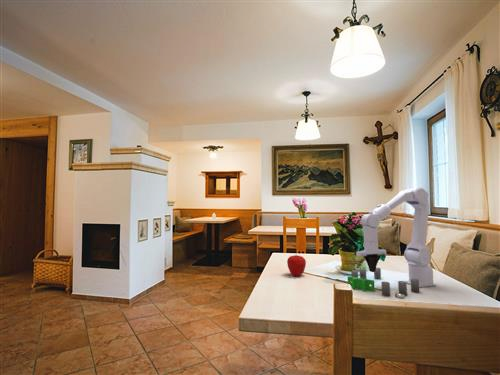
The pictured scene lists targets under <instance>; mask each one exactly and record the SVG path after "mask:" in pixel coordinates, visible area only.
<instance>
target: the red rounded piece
mask: <svg viewBox="0 0 500 375" xmlns="http://www.w3.org/2000/svg"><path fill="white" fill-rule="evenodd" d="M286 263H287V264H286V265H287V267H288V270H289V272H290V274H291V275H292V276H294V277H300V276H301V275H303V274H304V273H305V269H306V264H307V261H306V259H305V258H304V257H303V256H302V255H297V254H295V255H290V256H289V257H288V258H287V260H286Z"/></svg>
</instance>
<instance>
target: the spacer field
mask: <svg viewBox="0 0 500 375" xmlns="http://www.w3.org/2000/svg"><path fill="white" fill-rule="evenodd" d="M381 270H382V269H381V267H376V270H375V272H373V277H374V280H382V271H381ZM350 274H351V275H350V276H351V277H357V278H363V279H368V278H367V269H366V268H360V269H359V270H356V269H352V270H351V272H350ZM405 281H406V280H405ZM405 281H404V280H398V281H397V284H398V286H397V288H398V293H403V294H404V296H405V297H406V296H408V288H407V287H408V286H407V284H408V283H407V282H405ZM380 283H381V284H380V285H381V295H382V296H383V297H390V296H391V284H390V282H389V281H381V282H380ZM410 291H411V292H412V293H415V294H419V293H420V291H421V290H420V287H419V280H418V279H411V284H410Z"/></svg>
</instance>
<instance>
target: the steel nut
mask: <svg viewBox="0 0 500 375" xmlns="http://www.w3.org/2000/svg"><path fill="white" fill-rule="evenodd" d="M394 294H395V298H397V299H405V297H406V296H404V294H403V293H399V292H395V293H394Z"/></svg>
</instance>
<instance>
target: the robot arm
mask: <svg viewBox="0 0 500 375" xmlns="http://www.w3.org/2000/svg"><path fill="white" fill-rule="evenodd" d="M404 202H405V203H407V204H409V205H410V206H411V207H412V208H413V209H414V212H413V213H414V214H413V222H412V223H413V224H412V230H411V241H410V242H409V243H408V244H407V245H406V248H405V250H404V254H403V255H404V256H403V257H404V258H405V260H406V262H407V263H408V267H407V268H408V280H405V282H407V284H408V285H411V279H418V280H419V288H423V287H433V286H436V284H435V283H434V282H435V281H434V270H433V268H432V266H431V265H430V263H431V260H432V257H431V255H430V253H431V252H430V251H431V250H430V248H429V247H428V246H427V245H426V238H427V231H428V230H427V229H428V221H429V212H430V204H429V192H428V191H426V189H425V188H423V187H415V188H413V187H412V188H403V189H402V190H400V191H399V192H398V193H397V194H396V195H395V196H394V197H393V198H392V199H390V200H389V201H388V202H386V203H385V204H383V203H380V204H377V205H376V207H375V208H374V209H373V210H369V211H368V213H365V214H363V215H362V216H361V219H360V221H359V222H360V224H361V225H362V230H363V245H364V246H363V248H364V249H363V250H360V251H359V250H358V251H355V255H356V257H358V258H359V257H363V259H364V260H365V262H366V263H367V267H368V270H369V272H371V273H374V272H375V270H376V268H377V265H378V263H379V260H380V259H381V256H380V255H387V250H386V249H383V248H382V249H379V238H378V236H379V235H378V227H379V226H380V223H381V221H383V220H384V219H386V218H387V217H388V216H390V215H391V213H392V212H391V211H392V210H393V209H395V208H397V207H398V206H400V205H401V204H403V203H404Z"/></svg>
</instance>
